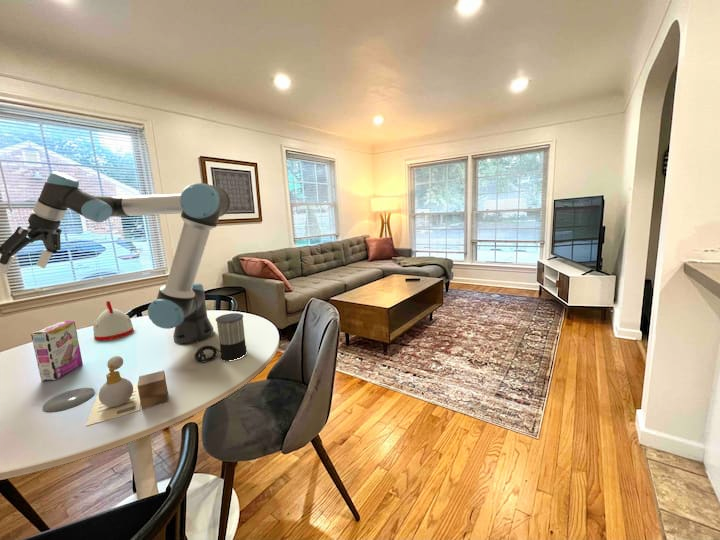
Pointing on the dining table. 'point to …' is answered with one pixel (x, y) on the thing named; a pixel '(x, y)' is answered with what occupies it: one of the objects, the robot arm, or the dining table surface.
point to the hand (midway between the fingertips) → (22, 269)
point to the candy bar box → (57, 350)
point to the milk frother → (227, 339)
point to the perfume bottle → (115, 385)
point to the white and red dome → (112, 324)
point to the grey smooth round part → (68, 399)
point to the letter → (114, 409)
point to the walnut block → (152, 389)
